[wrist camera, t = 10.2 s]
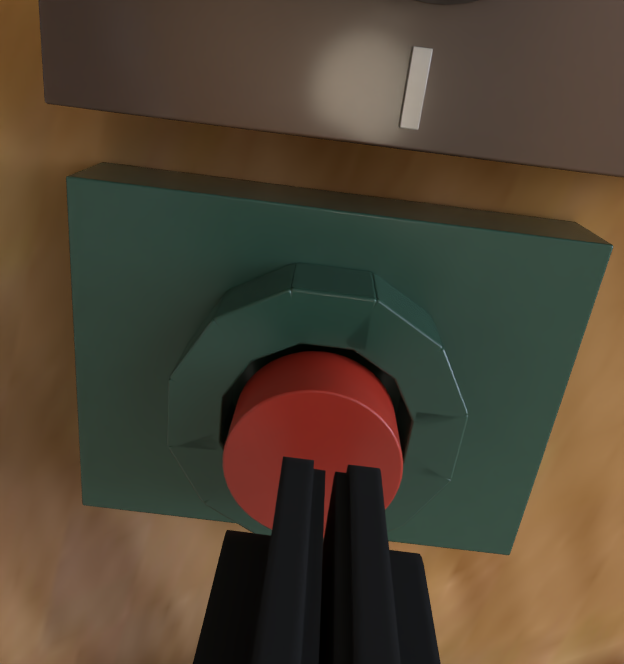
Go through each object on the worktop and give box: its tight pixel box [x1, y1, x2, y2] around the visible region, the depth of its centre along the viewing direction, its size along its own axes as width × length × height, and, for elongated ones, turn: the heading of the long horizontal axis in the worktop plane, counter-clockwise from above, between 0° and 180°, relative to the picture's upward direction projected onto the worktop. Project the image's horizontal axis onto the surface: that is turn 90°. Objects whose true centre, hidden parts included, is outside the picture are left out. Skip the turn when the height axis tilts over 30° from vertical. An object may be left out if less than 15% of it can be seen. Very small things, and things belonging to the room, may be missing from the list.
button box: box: [66, 162, 613, 555], centre depth 15 cm, size 12×9×4 cm
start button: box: [223, 351, 403, 538], centre depth 13 cm, size 4×4×2 cm
